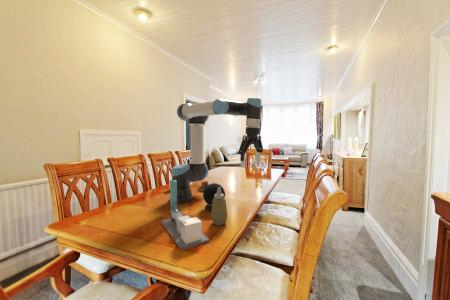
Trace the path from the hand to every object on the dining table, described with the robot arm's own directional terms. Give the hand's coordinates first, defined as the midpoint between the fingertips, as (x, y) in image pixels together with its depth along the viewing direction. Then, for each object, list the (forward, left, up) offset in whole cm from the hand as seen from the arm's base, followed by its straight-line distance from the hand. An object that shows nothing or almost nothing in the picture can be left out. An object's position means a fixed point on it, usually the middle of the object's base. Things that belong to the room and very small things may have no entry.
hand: (250, 165), depth 117 cm
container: (-74, +5, -27) cm, 79 cm away
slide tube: (-17, -38, -25) cm, 48 cm away
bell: (-54, +18, -27) cm, 63 cm away
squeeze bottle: (-4, -23, -27) cm, 35 cm away
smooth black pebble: (-20, -9, -27) cm, 34 cm away
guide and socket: (-11, -40, -26) cm, 49 cm away
